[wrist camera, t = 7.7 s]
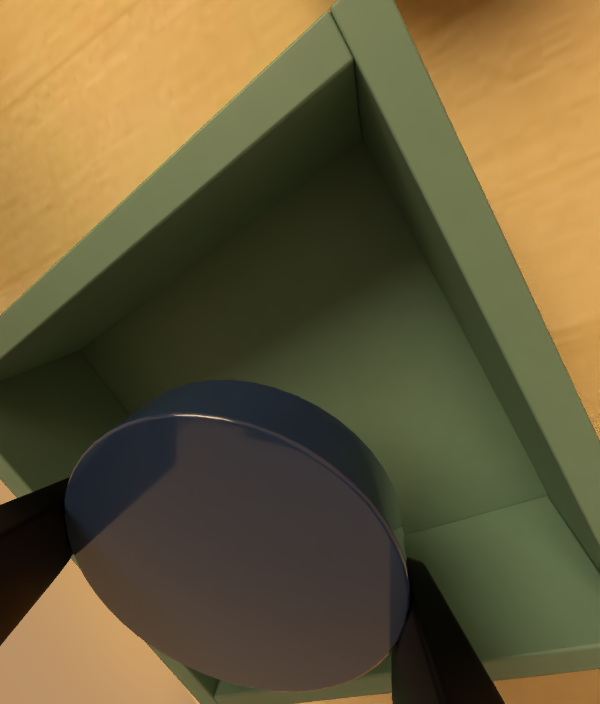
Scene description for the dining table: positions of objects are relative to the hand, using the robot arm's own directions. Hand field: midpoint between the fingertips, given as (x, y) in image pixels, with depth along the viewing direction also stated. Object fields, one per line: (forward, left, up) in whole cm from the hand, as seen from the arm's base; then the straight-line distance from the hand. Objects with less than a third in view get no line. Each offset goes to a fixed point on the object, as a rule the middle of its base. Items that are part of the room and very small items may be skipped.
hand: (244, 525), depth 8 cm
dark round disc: (0, 0, -1) cm, 1 cm away
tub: (0, 0, -6) cm, 6 cm away
